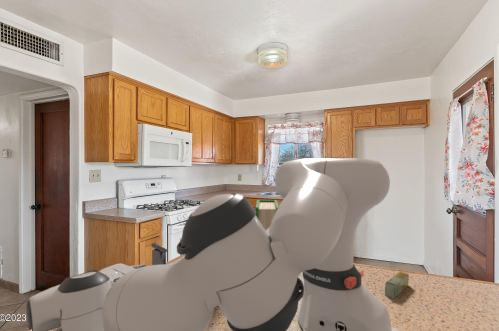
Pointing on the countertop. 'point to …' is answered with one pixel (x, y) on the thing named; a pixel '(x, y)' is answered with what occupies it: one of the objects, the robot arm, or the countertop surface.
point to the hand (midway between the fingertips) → (154, 270)
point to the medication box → (396, 284)
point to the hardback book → (266, 211)
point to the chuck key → (158, 254)
